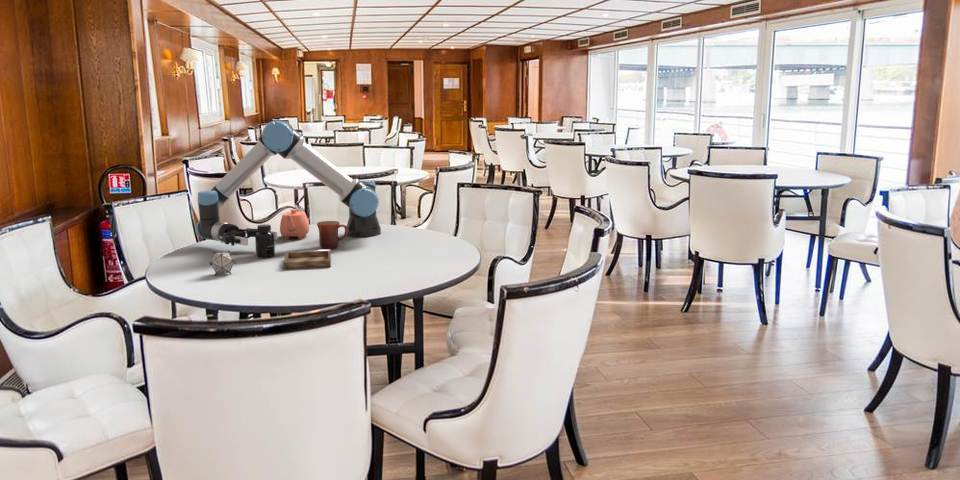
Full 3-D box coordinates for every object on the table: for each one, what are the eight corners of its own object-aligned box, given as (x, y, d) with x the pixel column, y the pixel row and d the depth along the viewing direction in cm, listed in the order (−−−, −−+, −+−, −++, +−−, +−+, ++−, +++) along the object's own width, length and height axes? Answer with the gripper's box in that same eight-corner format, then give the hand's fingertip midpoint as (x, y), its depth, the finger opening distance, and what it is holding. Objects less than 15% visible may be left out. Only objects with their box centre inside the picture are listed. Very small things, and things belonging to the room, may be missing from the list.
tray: (330, 256, 266) (330, 250, 266) (330, 267, 251) (330, 260, 250) (286, 259, 263) (286, 252, 262) (284, 269, 248) (283, 262, 247)
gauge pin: (330, 253, 271) (330, 248, 270) (330, 255, 269) (330, 249, 268) (298, 255, 268) (298, 250, 268) (298, 256, 267) (297, 251, 266)
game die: (226, 285, 241) (224, 267, 234) (204, 276, 242) (201, 257, 235) (241, 268, 247) (240, 249, 240) (220, 258, 248) (218, 239, 241)
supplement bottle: (272, 258, 264) (270, 227, 261) (253, 258, 264) (251, 227, 261) (277, 254, 270) (275, 223, 268) (259, 254, 270) (257, 223, 268)
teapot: (286, 233, 311) (284, 206, 308) (313, 232, 311) (311, 205, 309) (275, 242, 291) (273, 213, 289) (304, 242, 292) (302, 213, 289)
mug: (315, 250, 277) (313, 224, 275) (322, 245, 285) (320, 220, 283) (344, 251, 276) (343, 225, 274) (351, 246, 284) (350, 221, 282)
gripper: (252, 236, 288) (288, 242, 277) (199, 247, 268) (235, 254, 256) (251, 218, 287) (287, 223, 275) (197, 228, 266) (233, 234, 255)
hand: (262, 238), depth 266 cm, fingers open, 13 cm apart
